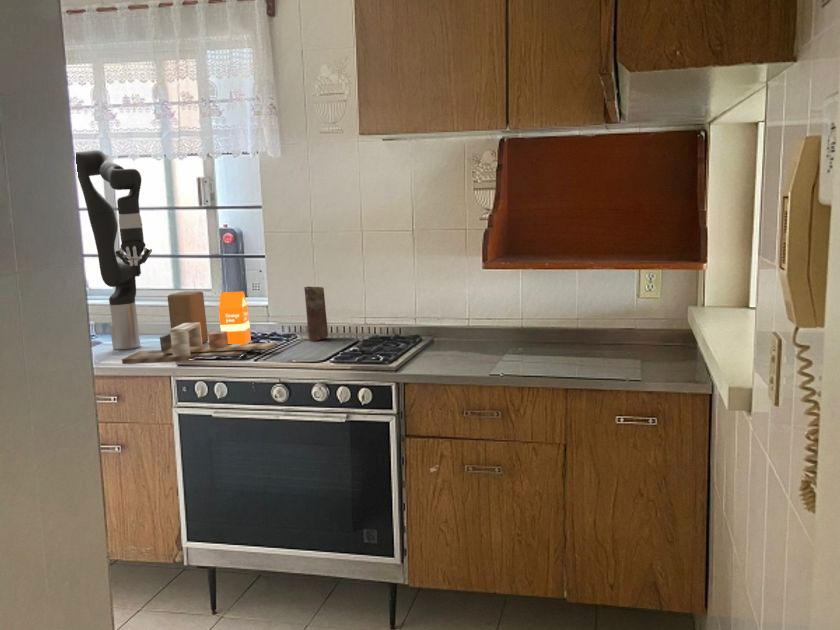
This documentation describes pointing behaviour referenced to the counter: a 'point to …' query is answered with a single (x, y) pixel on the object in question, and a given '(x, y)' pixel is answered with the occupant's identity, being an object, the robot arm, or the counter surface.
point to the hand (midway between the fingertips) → (136, 276)
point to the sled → (214, 344)
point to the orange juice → (234, 317)
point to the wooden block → (188, 310)
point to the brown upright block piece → (316, 313)
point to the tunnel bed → (180, 347)
